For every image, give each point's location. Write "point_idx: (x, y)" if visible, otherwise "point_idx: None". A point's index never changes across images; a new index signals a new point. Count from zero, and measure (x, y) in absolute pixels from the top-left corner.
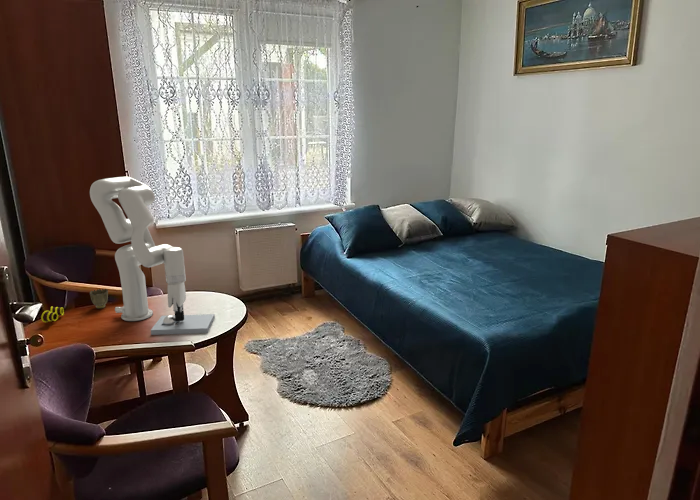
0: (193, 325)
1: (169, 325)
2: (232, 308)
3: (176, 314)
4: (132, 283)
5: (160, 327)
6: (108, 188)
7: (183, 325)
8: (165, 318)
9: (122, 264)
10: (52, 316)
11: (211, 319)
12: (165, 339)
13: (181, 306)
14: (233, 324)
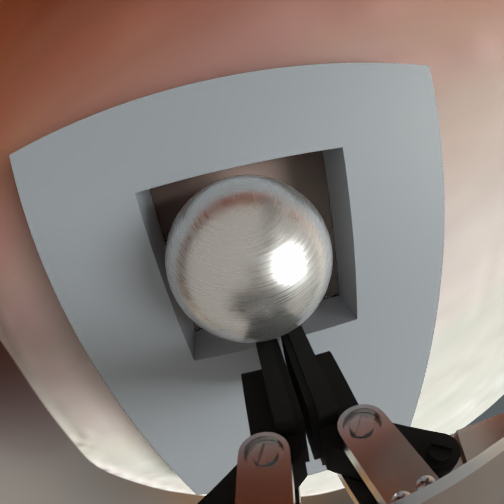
0: (216, 450)
1: (162, 293)
2: (478, 403)
3: (249, 424)
4: None
5: (85, 221)
6: None
7: (197, 405)
8: (195, 257)
9: None
10: None
11: (326, 469)
12: (18, 319)
13: (355, 499)
14: (309, 492)
